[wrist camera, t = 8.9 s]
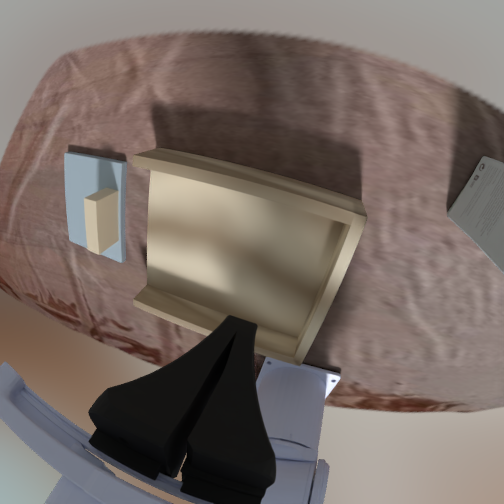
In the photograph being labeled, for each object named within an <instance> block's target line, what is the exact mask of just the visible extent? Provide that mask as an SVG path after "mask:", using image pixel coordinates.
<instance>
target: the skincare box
mask: <svg viewBox="0 0 504 504" xmlns="http://www.w3.org/2000/svg"><path fill="white" fill-rule="evenodd" d="M447 217H448V218H449V219H450V220H451V221H453V222H454V223H455V224H456V225H457V226H458V227H459V228H460V229H461V230H462V231H463V232H464V233H465V234H466V235H467V236H468V237H470V238H471V239H472V240H473V241H474V242H475V243H476V245H477V246H478V247H479V248H480V249H481V250H482V251H483V252H484V253H485V254H486V255H487V256H488V257H489V259H490V260H491V261H492V262H493V263H494V264H495V265H496V266H497V267H498V269H499V270H500V271H501V272H502V273H503V274H504V163H503V162H500V161H498V160H495V159H492V158H489V157H486V156H483V157H482V158H481V160H480V162H479V164H478V165H477V167H476V169H475V171H474V173H473V174H472V176H471V178H470V179H469V181H468V182H467V184H466V186H465V187H464V189H463V190H462V191H461V193H460V195H459V196H458V198H457V199H456V201H455V202H454V204H453V205H452V207H451V208H450V210H449V211H448V213H447Z"/></svg>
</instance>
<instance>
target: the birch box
mask: <svg viewBox="0 0 504 504" xmlns="http://www.w3.org/2000/svg"><path fill="white" fill-rule="evenodd" d="M133 166H134V167H139V168H144V169H148V170H151V175H150V189H149V205H148V230H147V285H146V286H145V287H144V288H143V289H142V291H141V292H140V293H139V294H138V295H137V296H136V297H135V298H134V299H133V303H134V306H136V307H138V308H140V309H142V310H144V311H147V312H149V313H151V314H154V315H156V316H158V317H161V318H163V319H165V320H168V321H170V322H173V323H175V324H178V325H180V326H183V327H185V328H188V329H190V330H193V331H195V332H198V333H200V334H203V335H206V336H208V335H209V334H211V333H212V332H213V331H214V330H215V329H216V328H217V327H218V326H219V325H220V324H221V323H222V322H223V321H224V319H225V318H226V317H227V316H229V315H232V316H235V317H238V318H241V319H244V320H247V321H250V322H253V323H256V324H257V326H258V328H257V331H256V336H255V346H254V353H257V354H260V355H263V356H267V357H270V358H273V359H276V360H280V361H283V362H286V363H290V364H293V365H297V366H300V365H301V364H302V362H303V360H304V358H305V356H306V354H307V352H308V350H309V348H310V347H311V345H312V343H313V341H314V339H315V337H316V335H317V333H318V331H319V329H320V327H321V325H322V323H323V321H324V319H325V316H326V314H327V312H328V310H329V308H330V306H331V304H332V302H333V300H334V297H335V295H336V293H337V291H338V289H339V286H340V284H341V282H342V280H343V277H344V275H345V273H346V270H347V268H348V266H349V263H350V261H351V259H352V256H353V254H354V251H355V249H356V246H357V244H358V242H359V239H360V236H361V234H362V231H363V229H364V226H365V224H366V221H367V218H368V217H367V214H366V211H365V208H364V205H363V203H362V201H361V200H359V199H356V198H353V197H350V196H347V195H344V194H341V193H338V192H335V191H331V190H328V189H325V188H322V187H319V186H316V185H312V184H309V183H306V182H302V181H299V180H295V179H292V178H288V177H285V176H281V175H278V174H274V173H270V172H267V171H263V170H259V169H255V168H251V167H247V166H243V165H239V164H235V163H231V162H227V161H223V160H218V159H214V158H209V157H205V156H200V155H195V154H191V153H186V152H181V151H176V150H170V149H165V148H156V149H153V150H149V151H145V152H142V153H139V154H135V155H133Z"/></svg>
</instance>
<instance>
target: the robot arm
mask: <svg viewBox="0 0 504 504" xmlns="http://www.w3.org/2000/svg"><path fill="white" fill-rule="evenodd" d="M257 328H258V326H257V324H256V323H253V322H250V321H247V320H244V319H241V318H238V317H235V316H232V315H229V316H227V317H226V318H225V319H224V321H223V322H222V323H221V324H220V325H219V326H218V327H217V328H216V329H215V330H214V331H213V332H212V333H211V334H209V335H208V336H207V337H206V338H205V339H204V340H202V341H201V342H200V343H199V344H198V345H196V346H195V347H194V348H192V349H191V350H189V351H188V352H187V353H185V354H184V355H182V356H181V357H179V358H178V359H176V360H175V361H173V362H171V363H170V364H168V365H166V366H164V367H162V368H160V369H159V370H156V371H154V372H153V373H150V374H148V375H146V376H143V377H140V378H138V379H136V380H133V381H130V382H127V383H124V384H121V385H117V386H114V387H110V388H108V389H107V390H105V391H104V392H103V393H102V395H100V396H99V397H98V399H97V400H96V401H95V403H94V404H93V405H92V407H91V408H90V410H89V412H88V413H89V416H90V418H91V420H92V421H93V423H94V425H95V426H96V428H97V429H96V431H95V432H94V434H93V435H90V434H89V433H87V432H86V431H84V430H83V429H81V428H80V427H78V426H77V425H75V424H74V423H73V422H71V421H70V420H68V419H67V418H66V417H64V416H63V415H62V414H60V413H59V412H58V411H56V410H55V409H54V408H53V407H51V406H50V405H49V404H47V403H46V402H45V401H44V400H43V399H41V398H40V397H39V396H38V395H37V394H35V393H34V392H33V391H32V390H31V389H30V388H29V387H28V386H27V385H26V384H25V382H24V380H23V379H22V378H21V376H20V375H19V374H18V373H17V372H16V371H15V370H14V369H13V368H12V367H11V366H10V365H9V364H8V363H7V362H4V363H3V364H2V365H1V366H0V418H1V419H2V420H3V421H4V422H5V423H6V424H7V425H8V427H9V428H10V429H11V430H12V431H13V432H14V433H15V434H16V435H17V436H18V437H19V438H20V439H21V440H22V441H24V443H25V444H27V445H28V446H29V447H30V448H31V449H32V450H33V451H34V452H36V454H38V455H39V456H40V457H41V458H42V459H43V460H45V461H46V462H47V463H48V464H49V465H51V466H52V467H53V468H54V469H56V470H57V471H58V472H59V473H61V474H62V477H61V478H60V480H59V481H58V483H57V484H56V486H55V488H54V489H53V491H52V492H51V494H50V495H49V497H48V499H47V500H46V502H45V503H44V504H173V503H170V502H168V501H166V500H163V499H161V498H159V497H157V496H154V495H152V494H150V493H148V492H146V491H144V490H142V489H140V488H138V487H136V486H134V485H132V484H130V483H128V482H126V481H124V480H122V479H120V478H118V477H116V476H115V474H114V473H113V472H112V471H111V470H109V469H108V468H107V467H106V466H105V464H104V463H103V462H102V461H101V460H99V459H98V458H96V457H95V456H94V455H92V454H91V453H93V454H95V455H96V456H98V457H99V458H101V459H103V460H104V461H106V462H107V463H109V464H111V465H113V466H114V467H116V468H118V469H120V470H122V471H123V472H125V473H127V474H129V475H131V476H133V477H135V478H137V479H139V480H141V481H143V482H145V483H147V484H149V485H151V486H153V487H155V488H158V489H160V490H162V491H164V492H167V493H169V494H171V495H174V496H176V497H179V498H181V499H184V500H186V501H189V502H192V503H195V504H323V502H324V497H325V492H326V487H327V481H328V474H329V465H328V464H327V463H325V460H324V459H319V460H318V465H317V456H318V445H319V439H320V433H321V426H322V419H323V411H324V403H325V398H326V397H327V396H328V395H329V393H330V392H331V391H332V389H333V388H334V387H335V385H336V384H337V383H338V381H339V380H340V378H341V375H340V374H339V373H336V372H332V371H328V370H324V369H321V368H317V367H313V366H309V365H306V364H301V365H300V366H297V365H293V364H290V363H286V362H283V361H280V360H276V359H273V358H270V357H267V356H266V358H265V361H264V363H263V366H262V369H261V371H260V374H259V376H258V379H257V381H255V368H254V346H255V336H256V331H257ZM269 361H270V362H269ZM333 379H334V380H333ZM85 449H87V450H88V451H90V452H91V453H90V452H88V451H87V450H85ZM186 453H187V457H186V459H185V462H184V464H183V466H182V468H181V470H180V467H181V465H182V463H183V460H184V458H185V455H186ZM316 466H317V469H316ZM179 470H180V471H181V472H182V481H178V480H176V479H173V478H175V477H177V475H178V472H179Z"/></svg>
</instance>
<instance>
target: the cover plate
mask: <svg viewBox="0 0 504 504" xmlns="http://www.w3.org/2000/svg"><path fill="white" fill-rule="evenodd" d="M126 171H127V162H125V161H120V160H115V159H109V158H104V157H99V156H93V155H88V154H82V153H76V152H70V151H69V152H66V153H65V195H66V210H67V221H68V231H69V240H70V241H72V242H74V243H76V244H78V245H81V246H83V247H85V248H87V249H88V250H89V251H91V252H94V253H96V254H98V255H100V254H101V255H104V256H106V257H108V258H111V259H113V260H116V261H118V262H120V263H123V262H124V261H125V260H126V248H125V194H126Z"/></svg>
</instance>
